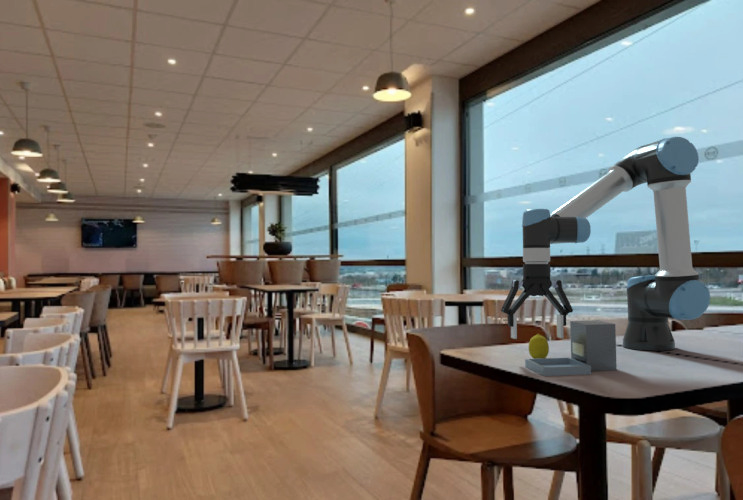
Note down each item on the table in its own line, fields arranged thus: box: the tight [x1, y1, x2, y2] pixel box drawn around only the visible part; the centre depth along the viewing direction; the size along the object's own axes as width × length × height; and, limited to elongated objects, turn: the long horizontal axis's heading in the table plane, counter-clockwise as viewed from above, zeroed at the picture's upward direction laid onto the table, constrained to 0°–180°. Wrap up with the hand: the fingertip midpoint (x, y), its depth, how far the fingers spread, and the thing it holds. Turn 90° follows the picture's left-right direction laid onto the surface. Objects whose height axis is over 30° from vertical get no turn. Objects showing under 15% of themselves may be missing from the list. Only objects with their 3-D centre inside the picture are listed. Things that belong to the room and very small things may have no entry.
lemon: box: [528, 333, 550, 359], centre depth 156 cm, size 6×6×8 cm
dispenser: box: [569, 319, 617, 372], centre depth 147 cm, size 9×9×12 cm
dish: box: [524, 357, 592, 377], centre depth 144 cm, size 12×12×2 cm
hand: (537, 338), depth 156 cm, fingers open, 13 cm apart
